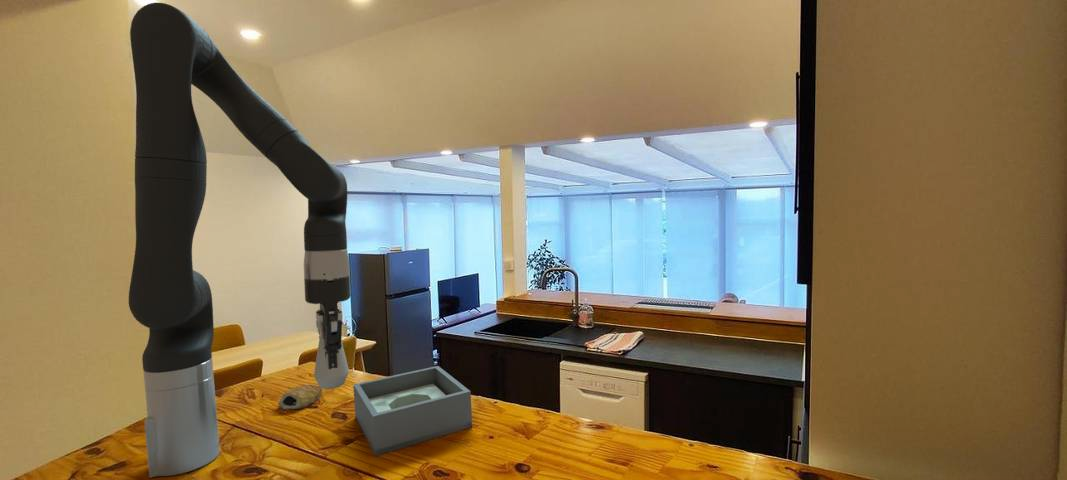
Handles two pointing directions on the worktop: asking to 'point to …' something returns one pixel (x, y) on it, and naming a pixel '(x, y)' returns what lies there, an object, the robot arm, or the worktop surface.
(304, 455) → the worktop surface
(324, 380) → the salt shaker
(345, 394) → the worktop surface
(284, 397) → the ridged seashell
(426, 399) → the bore box
